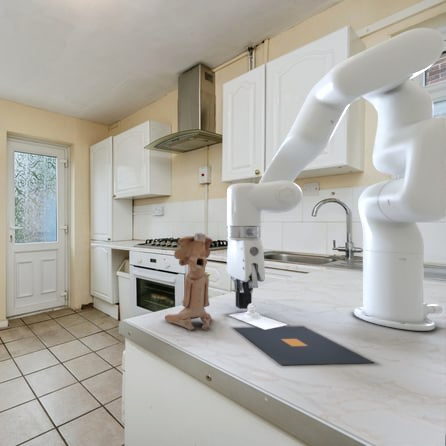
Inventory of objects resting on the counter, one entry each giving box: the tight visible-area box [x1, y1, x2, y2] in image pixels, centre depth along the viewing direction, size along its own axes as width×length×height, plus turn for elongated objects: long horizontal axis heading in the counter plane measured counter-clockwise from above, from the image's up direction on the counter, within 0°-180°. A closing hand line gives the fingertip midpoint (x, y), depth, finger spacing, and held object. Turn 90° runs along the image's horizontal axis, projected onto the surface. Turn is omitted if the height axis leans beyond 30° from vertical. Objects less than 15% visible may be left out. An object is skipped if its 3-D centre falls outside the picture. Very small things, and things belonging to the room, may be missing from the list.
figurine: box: [164, 232, 213, 331], centre depth 60 cm, size 11×8×20 cm
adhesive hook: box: [228, 302, 288, 330], centre depth 63 cm, size 3×3×3 cm
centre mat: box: [233, 325, 375, 366], centre depth 50 cm, size 15×15×1 cm
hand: (243, 307), depth 68 cm, fingers closed
